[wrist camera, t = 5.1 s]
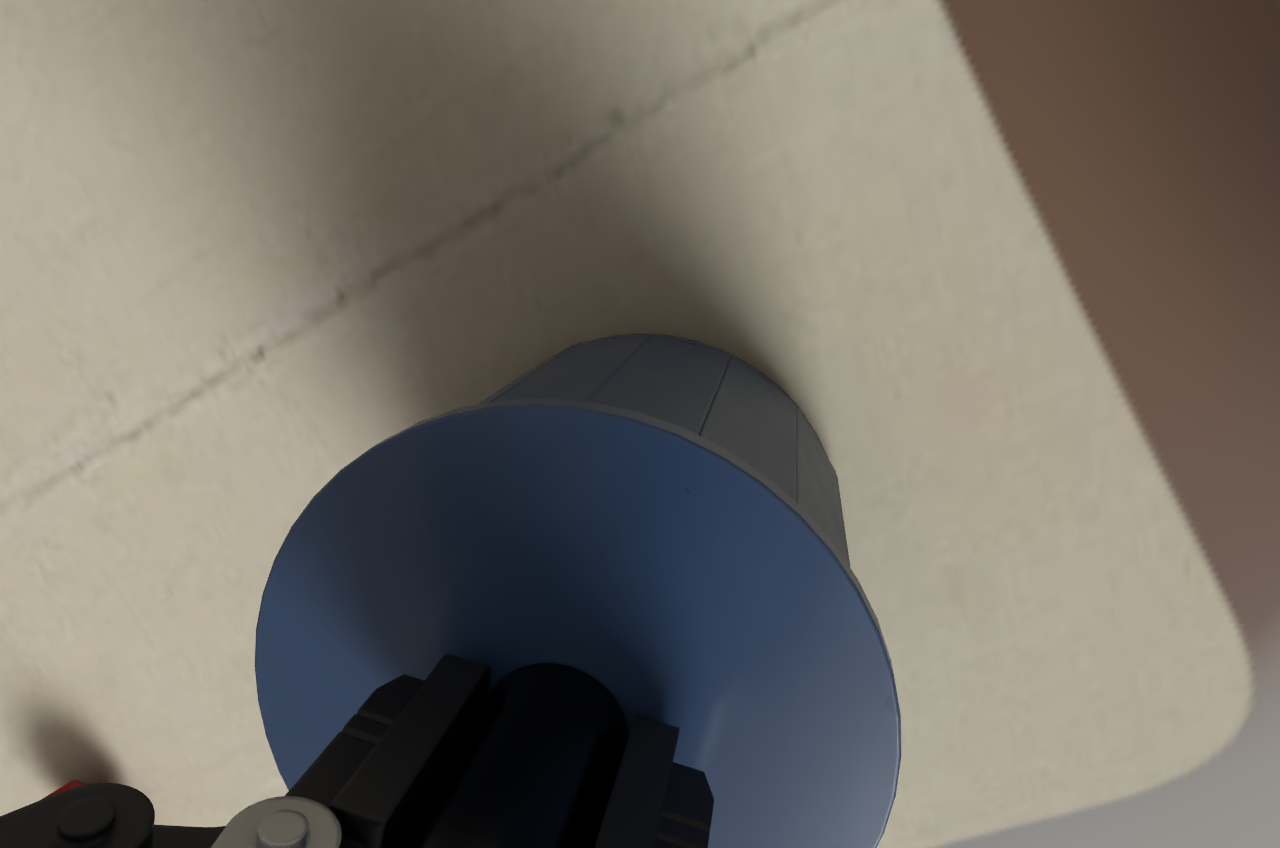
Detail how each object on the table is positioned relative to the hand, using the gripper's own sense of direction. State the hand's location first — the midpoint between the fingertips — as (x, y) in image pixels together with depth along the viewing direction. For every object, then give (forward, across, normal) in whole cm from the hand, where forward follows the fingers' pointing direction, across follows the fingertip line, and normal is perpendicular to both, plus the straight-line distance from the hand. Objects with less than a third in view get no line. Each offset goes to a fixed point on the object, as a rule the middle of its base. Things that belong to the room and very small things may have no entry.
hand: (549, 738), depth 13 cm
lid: (+1, 0, 0) cm, 1 cm away
